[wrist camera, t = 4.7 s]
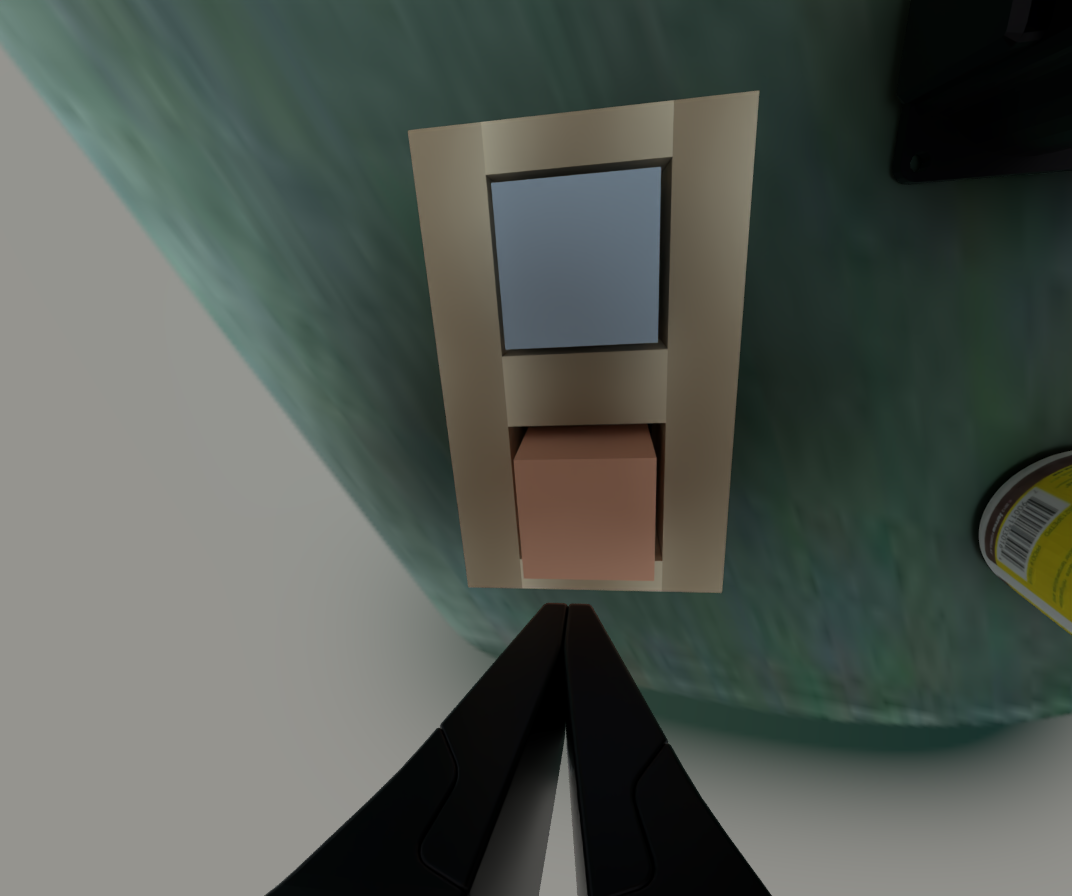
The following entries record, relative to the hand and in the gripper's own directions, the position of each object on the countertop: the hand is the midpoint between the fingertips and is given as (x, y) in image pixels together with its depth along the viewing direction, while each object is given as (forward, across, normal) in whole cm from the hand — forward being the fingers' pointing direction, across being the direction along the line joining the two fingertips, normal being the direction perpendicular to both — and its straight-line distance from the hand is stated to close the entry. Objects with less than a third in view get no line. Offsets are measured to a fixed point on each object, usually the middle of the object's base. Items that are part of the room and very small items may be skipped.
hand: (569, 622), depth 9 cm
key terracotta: (+7, 0, 0) cm, 7 cm away
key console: (+10, 0, -3) cm, 10 cm away
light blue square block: (+7, 0, -6) cm, 9 cm away
